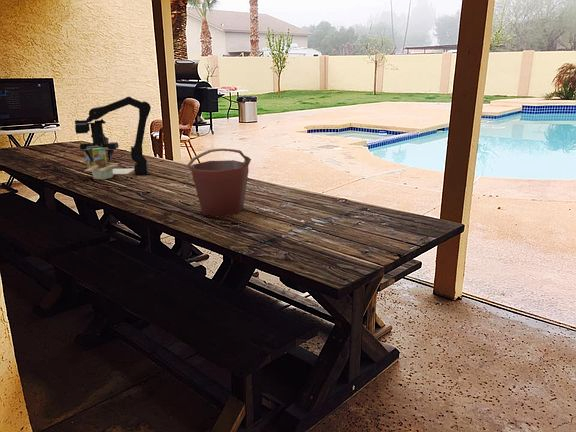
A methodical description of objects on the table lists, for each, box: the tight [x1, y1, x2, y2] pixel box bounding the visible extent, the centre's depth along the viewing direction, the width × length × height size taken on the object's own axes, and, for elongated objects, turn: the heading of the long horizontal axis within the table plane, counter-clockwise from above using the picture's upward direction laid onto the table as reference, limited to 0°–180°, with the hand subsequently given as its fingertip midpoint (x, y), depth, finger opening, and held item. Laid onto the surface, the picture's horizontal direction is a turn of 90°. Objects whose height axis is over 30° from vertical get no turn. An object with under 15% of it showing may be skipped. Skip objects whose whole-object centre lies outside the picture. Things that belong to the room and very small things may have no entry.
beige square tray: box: [84, 159, 119, 172], centre depth 258 cm, size 13×13×5 cm
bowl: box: [91, 169, 114, 180], centre depth 259 cm, size 10×10×5 cm
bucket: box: [187, 148, 252, 218], centre depth 191 cm, size 24×22×25 cm
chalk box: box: [83, 142, 108, 169], centre depth 286 cm, size 9×9×15 cm
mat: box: [113, 167, 135, 175], centre depth 274 cm, size 15×15×1 cm
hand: (101, 162), depth 257 cm, fingers open, 9 cm apart
